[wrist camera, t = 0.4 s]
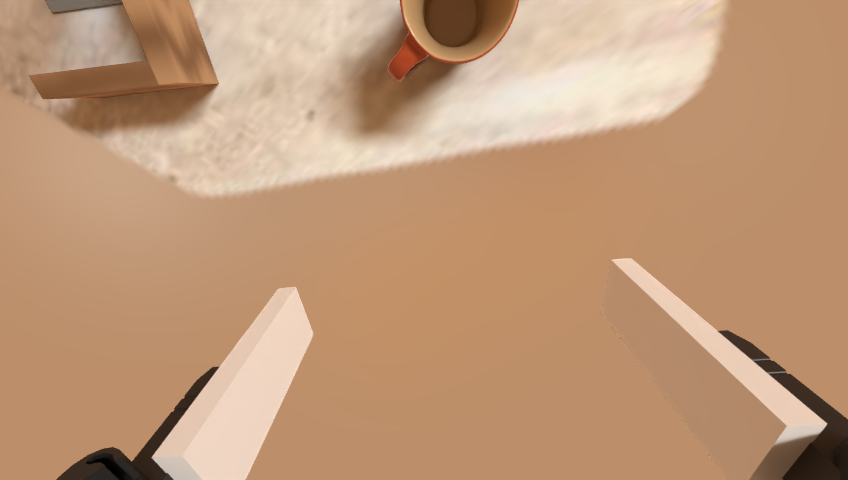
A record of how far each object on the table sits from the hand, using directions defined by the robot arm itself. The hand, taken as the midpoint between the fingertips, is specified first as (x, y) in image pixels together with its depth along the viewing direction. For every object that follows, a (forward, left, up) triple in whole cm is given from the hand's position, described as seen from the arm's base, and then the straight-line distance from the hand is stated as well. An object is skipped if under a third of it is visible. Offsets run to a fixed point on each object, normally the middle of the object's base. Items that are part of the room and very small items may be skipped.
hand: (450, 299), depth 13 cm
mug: (-13, +1, -28) cm, 30 cm away
